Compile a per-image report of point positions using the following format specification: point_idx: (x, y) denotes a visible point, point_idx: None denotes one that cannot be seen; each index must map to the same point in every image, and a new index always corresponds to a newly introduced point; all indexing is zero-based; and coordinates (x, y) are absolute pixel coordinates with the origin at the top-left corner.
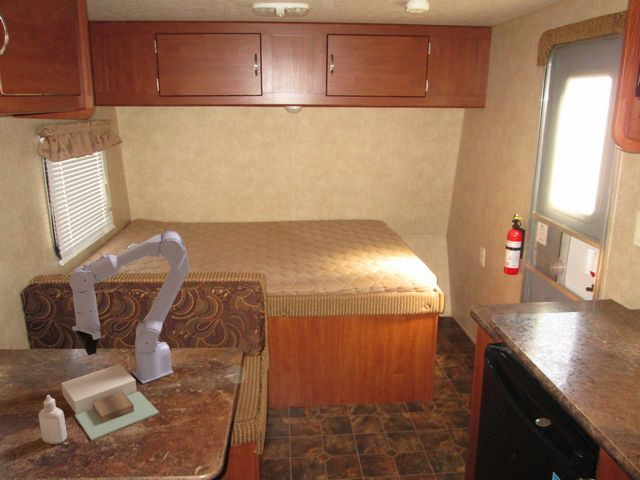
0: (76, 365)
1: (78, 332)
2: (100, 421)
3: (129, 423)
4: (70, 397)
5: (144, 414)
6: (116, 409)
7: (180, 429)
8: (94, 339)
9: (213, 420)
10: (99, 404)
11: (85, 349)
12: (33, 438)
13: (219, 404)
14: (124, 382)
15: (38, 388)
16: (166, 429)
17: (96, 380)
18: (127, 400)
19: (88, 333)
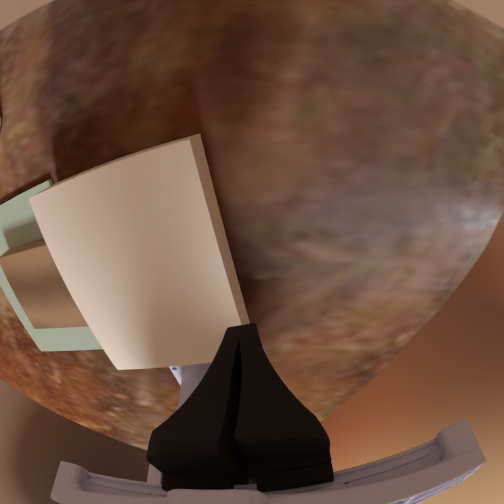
0: (417, 204)
1: (278, 445)
2: (14, 245)
3: (8, 298)
4: (73, 177)
5: (33, 329)
6: (18, 294)
7: (7, 354)
8: (62, 464)
9: (30, 390)
10: (39, 260)
11: (251, 341)
12: (7, 80)
13: (68, 412)
14: (110, 346)
15: (316, 51)
16: (5, 340)
17: (148, 279)
18: (50, 323)
19: (91, 493)
